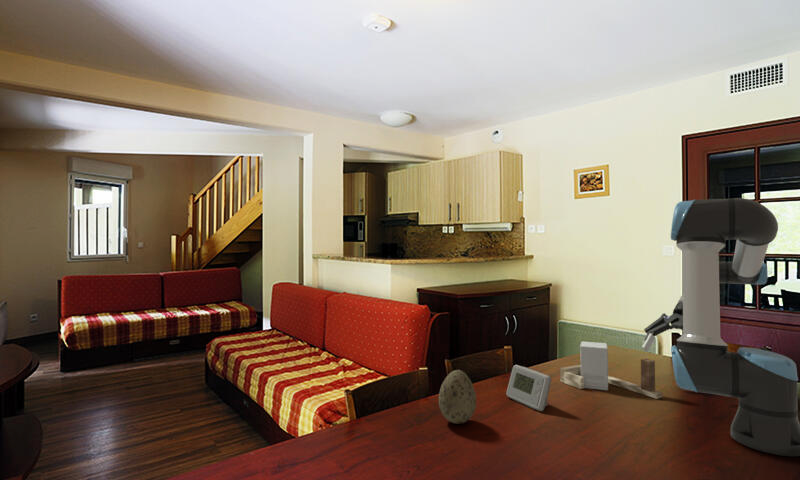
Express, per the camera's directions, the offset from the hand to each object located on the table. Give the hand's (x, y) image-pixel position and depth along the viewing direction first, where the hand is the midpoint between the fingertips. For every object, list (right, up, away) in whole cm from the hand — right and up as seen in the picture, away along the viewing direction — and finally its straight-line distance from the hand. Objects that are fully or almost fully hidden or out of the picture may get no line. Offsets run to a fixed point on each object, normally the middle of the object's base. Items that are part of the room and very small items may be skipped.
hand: (662, 354), depth 152 cm
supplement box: (-22, -13, +6) cm, 26 cm away
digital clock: (-51, -13, -12) cm, 54 cm away
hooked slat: (-19, -13, +1) cm, 22 cm away
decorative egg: (-75, -13, -26) cm, 81 cm away
